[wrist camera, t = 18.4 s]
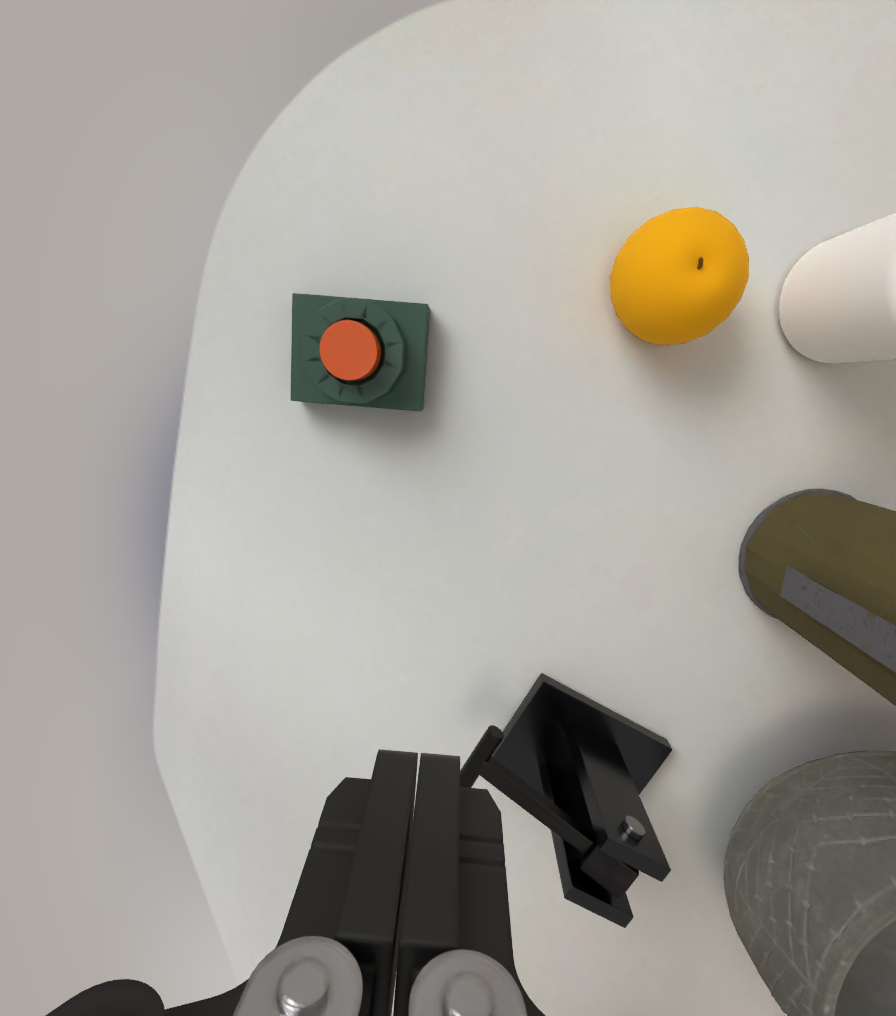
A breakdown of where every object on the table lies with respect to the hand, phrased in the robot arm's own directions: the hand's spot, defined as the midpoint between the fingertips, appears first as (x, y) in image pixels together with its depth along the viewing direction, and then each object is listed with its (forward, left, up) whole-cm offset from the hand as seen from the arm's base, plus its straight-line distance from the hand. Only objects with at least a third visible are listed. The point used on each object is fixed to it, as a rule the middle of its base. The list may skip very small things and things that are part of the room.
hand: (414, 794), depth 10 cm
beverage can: (+25, +15, -32) cm, 43 cm away
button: (-7, +9, -29) cm, 31 cm away
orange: (+13, +15, -32) cm, 38 cm away
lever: (+8, -19, -24) cm, 32 cm away
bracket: (+12, -21, -32) cm, 40 cm away
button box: (-7, +9, -32) cm, 34 cm away
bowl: (+33, -25, -32) cm, 53 cm away
